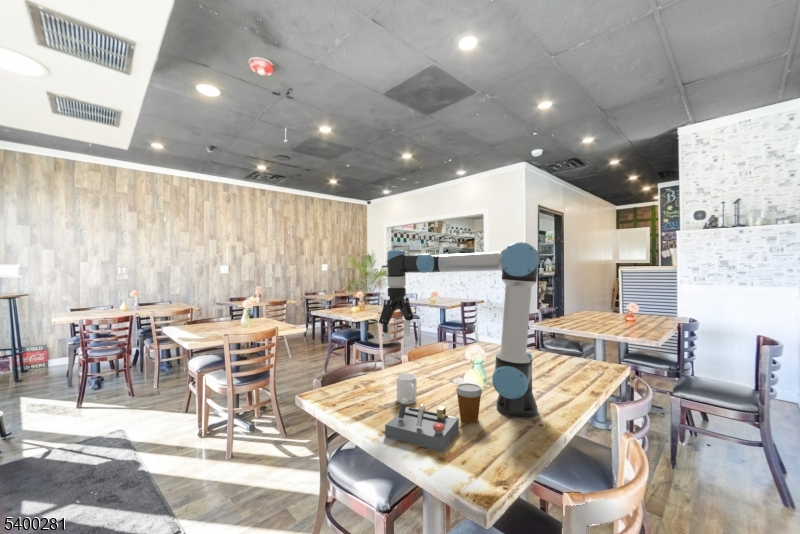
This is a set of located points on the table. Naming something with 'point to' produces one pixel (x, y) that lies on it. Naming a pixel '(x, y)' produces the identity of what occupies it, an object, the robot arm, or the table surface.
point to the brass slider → (441, 412)
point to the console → (422, 429)
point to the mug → (406, 388)
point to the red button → (439, 428)
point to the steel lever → (420, 415)
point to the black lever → (402, 408)
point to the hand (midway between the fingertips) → (397, 338)
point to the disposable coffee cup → (469, 402)
